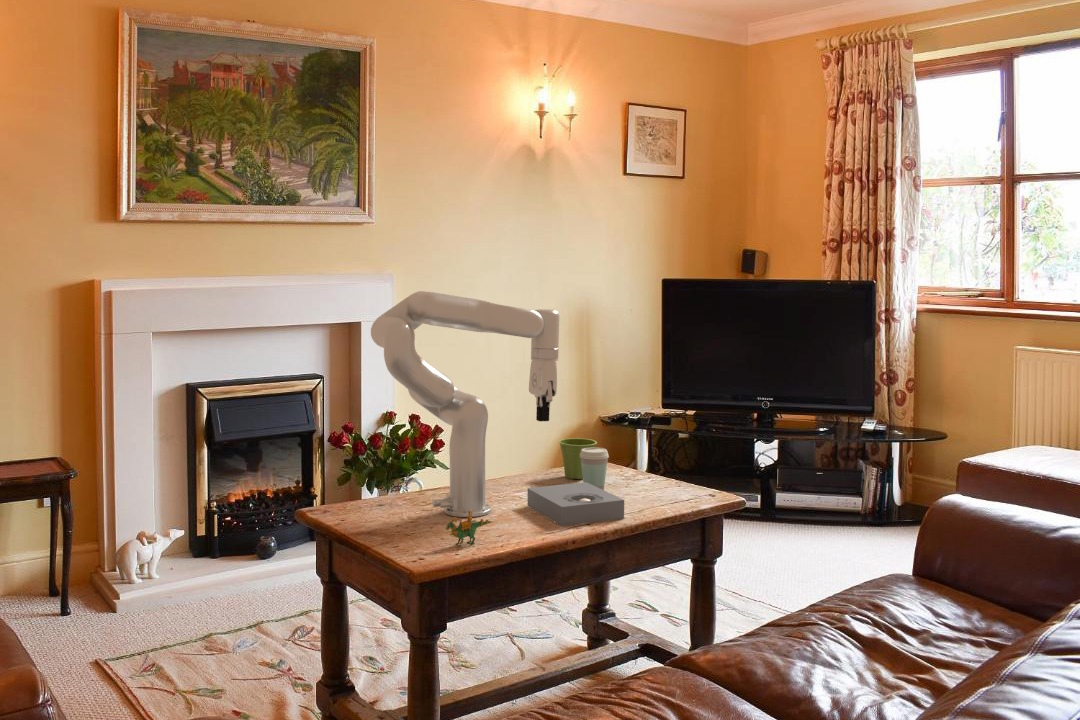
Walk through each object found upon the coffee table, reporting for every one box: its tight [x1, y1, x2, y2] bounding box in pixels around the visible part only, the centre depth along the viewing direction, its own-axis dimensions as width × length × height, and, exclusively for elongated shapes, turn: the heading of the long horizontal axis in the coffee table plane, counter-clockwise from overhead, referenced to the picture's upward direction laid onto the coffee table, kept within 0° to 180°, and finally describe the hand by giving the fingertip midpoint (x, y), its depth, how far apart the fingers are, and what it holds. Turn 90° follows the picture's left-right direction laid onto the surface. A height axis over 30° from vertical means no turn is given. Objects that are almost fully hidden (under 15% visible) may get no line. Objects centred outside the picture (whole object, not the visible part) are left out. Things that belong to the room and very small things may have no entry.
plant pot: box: [558, 437, 598, 480], centre depth 311 cm, size 12×12×11 cm
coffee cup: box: [580, 446, 610, 491], centre depth 294 cm, size 8×9×12 cm
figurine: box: [445, 510, 493, 547], centre depth 241 cm, size 3×12×8 cm, turn 118°
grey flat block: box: [527, 481, 625, 527], centre depth 270 cm, size 18×22×5 cm
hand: (542, 420), depth 278 cm, fingers closed
